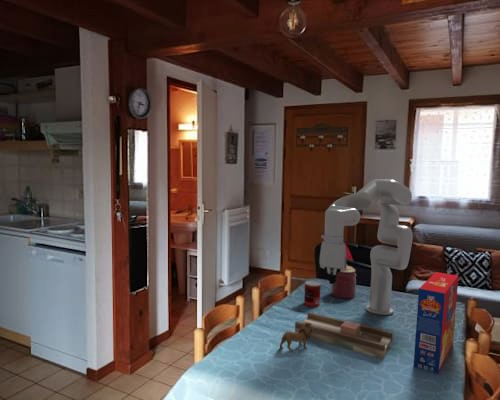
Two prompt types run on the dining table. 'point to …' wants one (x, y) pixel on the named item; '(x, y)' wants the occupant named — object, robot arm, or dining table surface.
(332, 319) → the channel board
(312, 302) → the canned food
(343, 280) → the canister
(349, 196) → the robot arm
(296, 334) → the lion figurine
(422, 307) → the pasta box
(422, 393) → the dining table surface
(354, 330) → the block
